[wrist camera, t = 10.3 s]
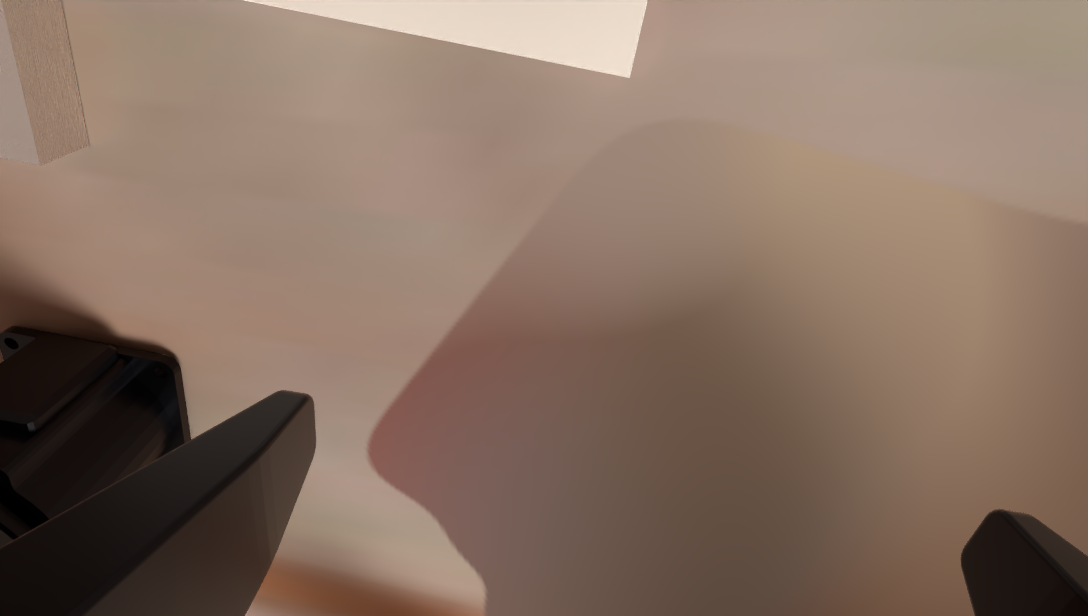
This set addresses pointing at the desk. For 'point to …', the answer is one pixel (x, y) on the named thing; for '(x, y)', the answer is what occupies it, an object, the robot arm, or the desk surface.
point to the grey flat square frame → (37, 84)
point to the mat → (506, 25)
